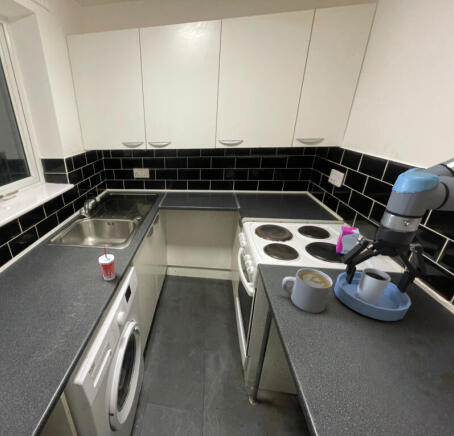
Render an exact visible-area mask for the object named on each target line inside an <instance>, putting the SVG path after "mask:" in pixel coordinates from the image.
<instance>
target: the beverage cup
mask: <svg viewBox="0 0 454 436" xmlns="http://www.w3.org/2000/svg"><path fill="white" fill-rule="evenodd" d="M103 251H104V255H101V256H100V257H99V258H98V263H99V265H100V269H101V272H102V277H103V279H104V281H106V282H107V281H112V280H114V279H115V278H116V269H115V267H116V266H115V256H114V255H113V254H110V253H109V254H108V253H107V250H106V247H103Z"/></svg>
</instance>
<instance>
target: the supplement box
mask: <svg viewBox="0 0 454 436" xmlns="http://www.w3.org/2000/svg"><path fill="white" fill-rule="evenodd" d="M360 234H361V232H360V231H359V228H358V227H354V226H353V227H352V226H347V225H342V226H341V229H340V232H339V234H338V235H339V236H338V238H337V243H336V244H335V252H336V253H335V254H338V255H343V256H345V255H346V254H347V253H348V252H349V251H350V250H351V249H353V248H354V247H355V246H356V245H357V244H358V240H359V237H360Z"/></svg>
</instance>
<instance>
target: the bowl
mask: <svg viewBox="0 0 454 436" xmlns="http://www.w3.org/2000/svg"><path fill="white" fill-rule="evenodd" d="M362 272H363V271H356V272H355V275H354V277H353V280H352V283H351V285H350V284H348V283H347V281H346V276H347V274H346V272H345V271H344V272H341V273H339V274H338V276H337V278H336V280H335V283H334V285H333V286H334V287H333V292H334V294H335V296H336V297H337V298H338V300H340V302H342V304H344V305H346V306H347V307H348V308H350V309H352V310H353V311H355V312H357V313H359V314H361V315H363V316H366V317H369V318H371V319H376V320H380V321H385V322H397V321H400V320H402V319H404V317H405V316H406V315H407V313H408V311H409V309H410V307H411V305H412V302H411V298H410V296H409V294H407V292H405V293H401V292H400V291H399V289H398V288H397V286H398V285H396V284H394V283H393V282H391V281H390V282H389V283H388V285H387V287H386V289H385V291H384V293H383V294H382V296H381V298H380V300H379V302H378V303H377V304H376V305H371V304H368V303H366V302H364V301H361V300H359V299H358V298H357V297H356V292H357V288H358V285H359V282H360V279H361V275H362Z"/></svg>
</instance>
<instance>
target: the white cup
mask: <svg viewBox="0 0 454 436" xmlns="http://www.w3.org/2000/svg"><path fill="white" fill-rule="evenodd" d="M361 272H362V275H361V279H360V282H359V285H358V288H357V292H356V297H357V298H358V299H359V300H361V301H364V302H366V303H368V304H371V305H376V304H377V303H378V302H379V300H380V298H381V296H382V294H383V293H384V291H385V289H386V287H387V285H388V283H389V282H391V280H392V278H391V277H392V276H390V275H389V273H386V271H382V270H380V269H377V268H373V267H365V268H363V269H362V271H361Z"/></svg>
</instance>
